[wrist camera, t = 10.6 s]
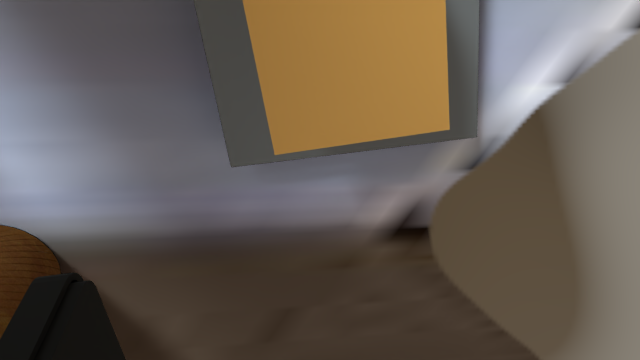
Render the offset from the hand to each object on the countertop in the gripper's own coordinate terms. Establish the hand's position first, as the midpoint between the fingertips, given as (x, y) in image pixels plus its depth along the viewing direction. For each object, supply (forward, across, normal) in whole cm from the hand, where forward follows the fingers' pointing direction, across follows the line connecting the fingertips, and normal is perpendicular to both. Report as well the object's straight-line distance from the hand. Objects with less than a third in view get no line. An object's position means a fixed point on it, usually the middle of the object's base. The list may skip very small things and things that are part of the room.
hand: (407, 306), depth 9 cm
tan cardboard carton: (+16, 0, 0) cm, 16 cm away
